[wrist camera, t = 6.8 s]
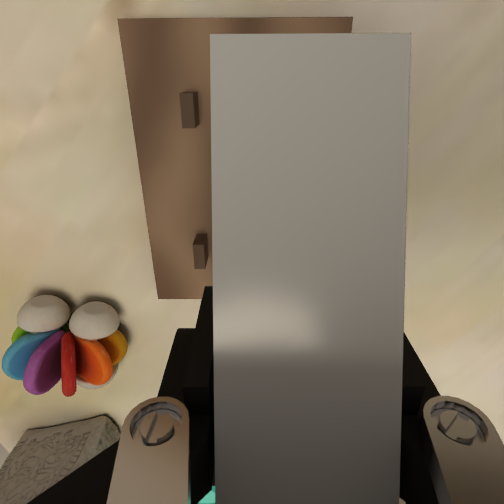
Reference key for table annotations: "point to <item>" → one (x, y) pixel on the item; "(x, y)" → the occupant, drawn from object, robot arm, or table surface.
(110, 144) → the table surface
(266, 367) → the gray rectangular block
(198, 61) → the brown board
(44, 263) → the table surface
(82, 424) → the decorative stone
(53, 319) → the rainbow petal toy
